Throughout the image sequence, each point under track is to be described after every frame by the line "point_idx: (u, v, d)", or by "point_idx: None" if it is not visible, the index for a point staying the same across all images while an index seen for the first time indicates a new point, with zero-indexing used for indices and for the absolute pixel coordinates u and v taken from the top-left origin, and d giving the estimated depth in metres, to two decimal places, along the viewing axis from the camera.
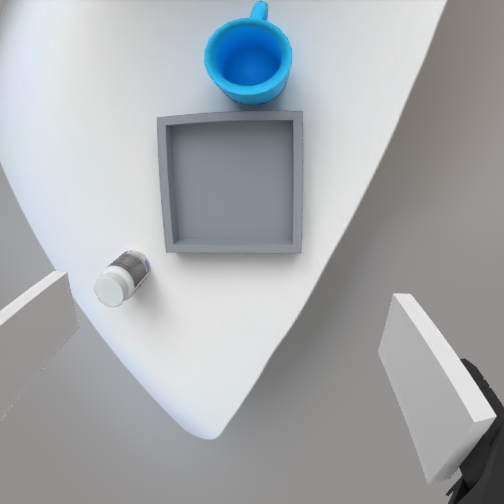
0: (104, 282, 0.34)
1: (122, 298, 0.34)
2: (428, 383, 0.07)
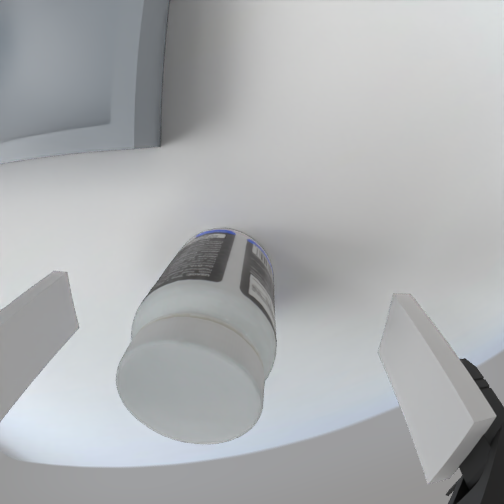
0: (140, 401, 0.08)
1: (209, 352, 0.07)
2: (428, 383, 0.07)
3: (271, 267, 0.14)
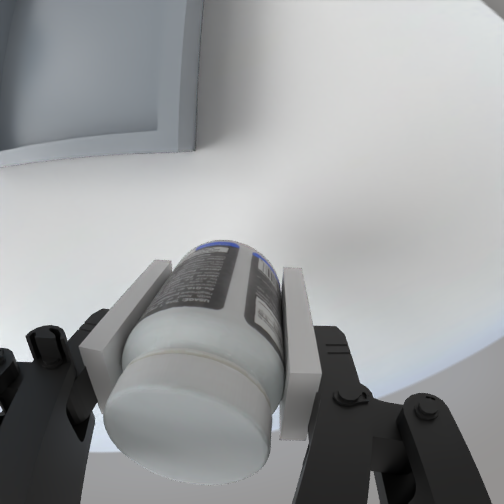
0: (131, 443, 0.06)
1: (207, 400, 0.06)
2: (284, 342, 0.09)
3: (278, 283, 0.13)
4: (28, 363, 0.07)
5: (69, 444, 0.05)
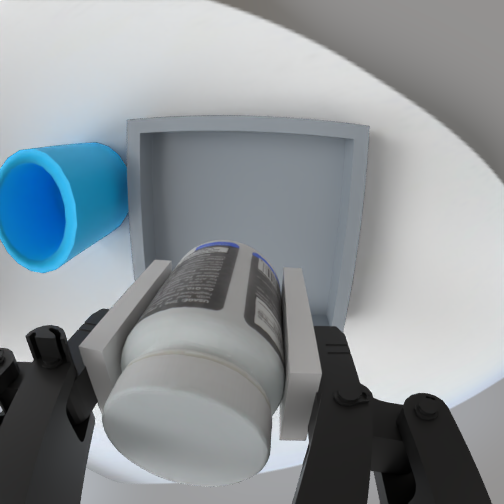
0: (130, 444, 0.06)
1: (207, 401, 0.05)
2: (284, 342, 0.09)
3: (278, 283, 0.13)
4: (28, 363, 0.07)
5: (69, 444, 0.05)
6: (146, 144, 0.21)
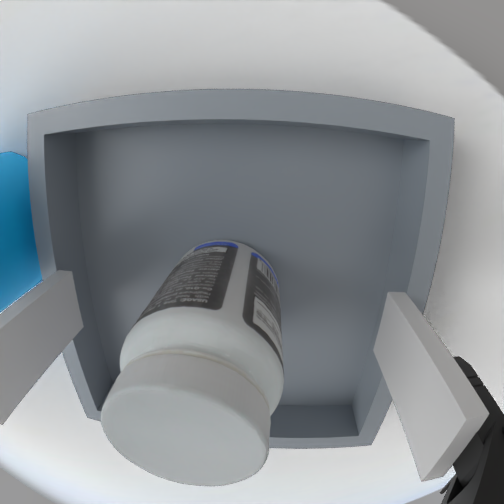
0: (129, 443, 0.06)
1: (205, 401, 0.05)
2: (421, 380, 0.07)
3: (277, 283, 0.13)
4: None
5: None
6: (61, 152, 0.11)
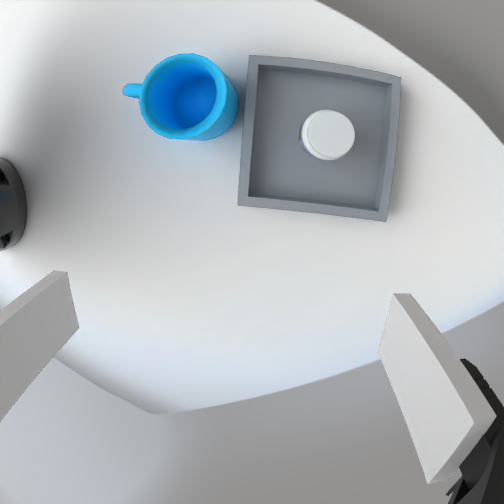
0: (316, 134, 0.24)
1: (341, 115, 0.24)
2: (428, 383, 0.07)
3: None
4: None
5: None
6: (258, 74, 0.29)
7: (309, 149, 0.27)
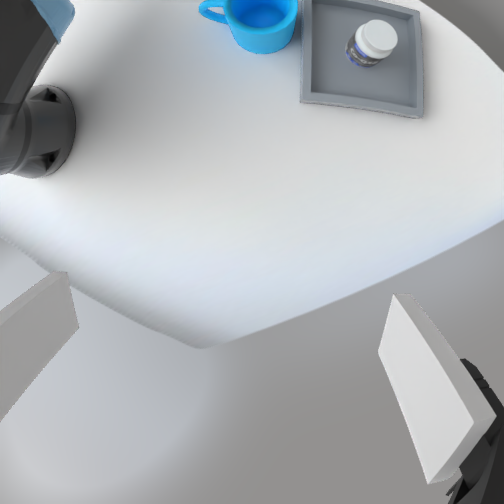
0: (370, 33, 0.26)
1: (386, 22, 0.25)
2: (428, 383, 0.07)
3: None
4: None
5: None
6: None
7: (363, 48, 0.28)
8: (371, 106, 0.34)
